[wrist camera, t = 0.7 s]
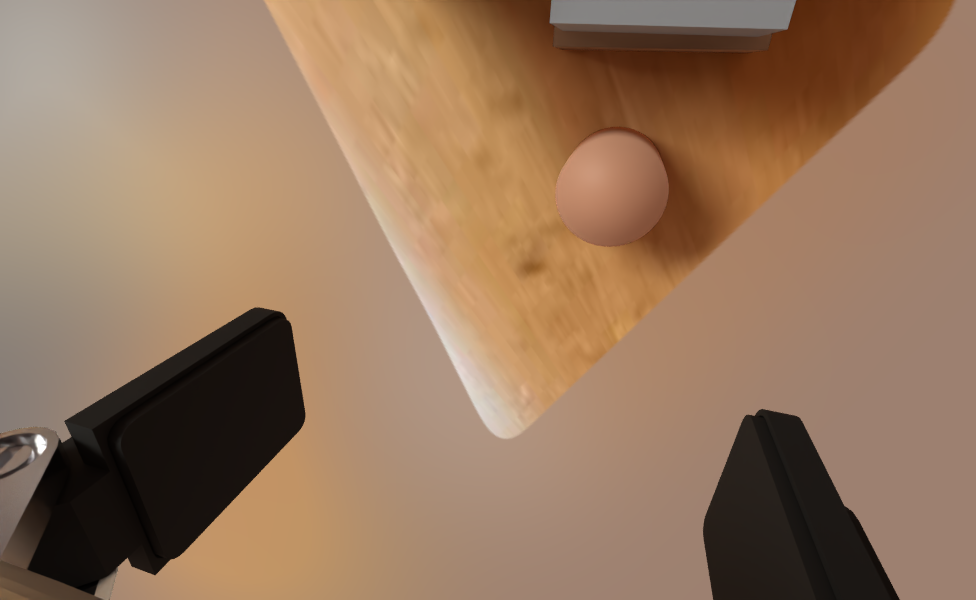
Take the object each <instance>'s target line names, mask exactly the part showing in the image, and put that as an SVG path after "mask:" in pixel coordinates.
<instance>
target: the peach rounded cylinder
mask: <svg viewBox="0 0 976 600" xmlns="http://www.w3.org/2000/svg"><path fill="white" fill-rule="evenodd" d="M668 194H669V183H668V177H667V174H666V170H665V168H664V165H663V162H662V159H661V157H660V154H659V152H658V150H657V148H656V147H655V145H654V144H653V143H652V142H651V140H650V139H648V138H647V137H646V136H645V135H643V134H642V133H640V132H638V131H636V130H633V129H630V128H625V127H610V128H605V129H602V130H599V131H597V132H594V133H593V134H591V135H589V136H588V137H587V138H585V139H584V140H583V141H582V142H581V143H580V144H579V145H578V146H577V148H576V149H575V150H574V152H573V153H572V154H571V156H570V157H569V159H568V160H567V162H566V163H565V165H564V166H563V168H562V170H561V172H560V174H559V177H558V180H557V185H556V196H555V197H556V205H557V209H558V212H559V215H560V217H561V219H562V221H563V222H564V224H565V225H566V226H567V228H568V229H569V230H570V231H571V232H572V233H573V234H574V235H576V236H577V237H579V238H580V239H582V240H584V241H586V242H588V243H591V244H594V245H598V246H607V247H611V246H620V245H625V244H628V243H631V242H633V241H635V240H637V239H639V238H641V237H642V236H644V235H645V234H646V233H648V232H649V231H650V230H651V229H652V228H653V227H654V226H655V225H656V223H657V222H658V221H659V219H660V218H661V216H662V214H663V212H664V210H665V208H666V204H667V201H668Z"/></svg>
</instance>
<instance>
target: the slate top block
mask: <svg viewBox="0 0 976 600" xmlns="http://www.w3.org/2000/svg"><path fill="white" fill-rule="evenodd" d="M795 2H796V0H552V1H551V12H550V24H552V25H554V26H556V27H557V28H559V29H561V30H562V31H582V32H615V33H648V34H681V35H714V36H747V37H760V36H764V35H767V34H771V33H775V32H779V31H783V30H787V29H788V26H789V23H790V19H791V16H792V12H793V9H794V6H795Z"/></svg>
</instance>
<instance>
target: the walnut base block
mask: <svg viewBox="0 0 976 600" xmlns="http://www.w3.org/2000/svg"><path fill="white" fill-rule="evenodd" d="M771 37H772V33H771V34H767V35H764V36H760V37H747V36H714V35H681V34H648V33H615V32H582V31H562V30H561V29H559V28H557V27H556V26H554V38H553V47H556V48H559V49H562V50H607V51H664V52H720V53H751V52H758V51H766V50H768V48H769V44H770V41H771Z"/></svg>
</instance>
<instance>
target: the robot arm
mask: <svg viewBox="0 0 976 600" xmlns="http://www.w3.org/2000/svg"><path fill="white" fill-rule="evenodd" d="M304 421H305V408H304V402H303V395H302V389H301V383H300V377H299V371H298V364H297V358H296V352H295V345H294V340H293V333H292V327H291V323H290V322H289V321H288V320H287V319H286V317H285V315H284V314H283V313H281V312H279V311H274V310H269V309H264V308H253V309H251V310H249V311H247V312H246V313H244V314H242V315H241V316H239V317H237V318H236V319H234V320H232V321H231V322H229V323H227V324H226V325H224V326H222V327H221V328H219V329H217V330H216V331H214V332H212V333H211V334H209V335H207V336H206V337H204V338H202V339H201V340H199V341H197V342H196V343H194V344H192V345H191V346H189V347H187V348H186V349H184V350H182V351H181V352H179V353H177V354H175V355H174V356H172V357H170V358H169V359H167V360H165V361H164V362H162V363H160V364H159V365H157V366H155V367H154V368H152V369H151V370H149V371H147V372H146V373H144V374H142V375H140V376H139V377H137V378H135V379H134V380H132V381H130V382H129V383H127V384H125V385H124V386H122V387H120V388H119V389H117V390H115V391H114V392H112V393H110V394H109V395H107V396H106V397H104V398H102V399H100V400H99V401H97V402H95V403H94V404H92V405H91V406H89V407H87V408H85V409H84V410H82V411H80V412H79V413H77V414H76V415H74V416H72V417H71V418H69V419H67V420H65V424H66V426H67V428H68V430H69V432H70V434H71V436H72V437H71V438H70V439H68V440H66V441H65V442H63V443H62V442H61V440H60V438H59V436H58V435H57V433H56V431H54V430H51V429H49V428H45V427H28V428H19V429H15V430H11V431H7V432H4V433H0V600H110V597H111V593H112V589H113V585H114V582H115V578H116V575H117V571H118V566H119V565H120V564H121V563H122V562H123V561H124V560H125V559H127V558H128V559H129V561H130V564H131V566H132V567H135V568H137V569H140V570H143V571H145V572H148V573H151V574H153V575H156V574H157V573H158V572H159V571H160V570H161V569H162V568H163V567H164V566H165V565H166V564H167V562H168V561H170V559H175V558H177V557H178V556H180V555H181V554H182V553H183V552H184V551H185V550H186V549H187V548H188V547H189V546H190V545H191V544H192V543H193V542H194V541H195V540H196V539H197V538H198V536H200V535H201V533H203V531H204V530H205V529H206V528H207V527H208V526H209V525H210V524H211V523H212V522H213V521H214V520H215V519H216V518H217V517H218V516H219V515H220V514H221V513H222V511H223V510H224V509H225V508H226V507H227V506H228V505H229V504H230V503H231V502H232V501H233V500H234V499H235V498H236V497H237V496H238V495H239V494H240V493H241V491H242V490H243V489H244V488H245V487H246V486H247V485H248V484H249V483H250V482H251V481H252V480H253V479H254V478H255V477H256V476H257V475H258V474H259V472H261V470H262V469H263V468H264V467H265V466H266V465H267V464H268V463H269V462H270V461H271V460H272V459H273V458H274V457H275V456H276V455H277V453H279V452H280V450H281V449H282V448H283V447H284V446H285V445H286V444H287V443H288V442H289V441H290V440H291V439H292V438H293V437H294V436H295V435H296V434H297V433H298V432H299V430H300V429H301V428H302V426H303V424H304ZM703 537H704V544H705V550H706V557H707V563H708V569H709V576H710V582H711V588H712V595H713V600H900V599H899V597H898V596H897V594H896V592H895V590H894V588H893V586H892V584H891V582H890V580H889V578H888V576H887V574H886V573H885V571H884V568H883V567H882V565H881V563H880V561H879V559H878V557H877V555H876V553H875V551H874V549H873V547H872V545H871V543H870V542H869V540H868V538H867V536H866V534H865V532H864V530H863V528H862V526H861V524H860V522H859V520H858V519H857V517H856V516H855V514H854V513H853V512H852V511H851V510H849V509H848V508H847V507H845V506H844V504H843V502H842V500H841V499H840V496H839V494H838V492H837V490H836V488H835V486H834V485H833V482H832V480H831V478H830V476H829V474H828V472H827V471H826V468H825V466H824V464H823V462H822V460H821V458H820V456H819V454H818V452H817V450H816V448H815V446H814V444H813V442H812V440H811V438H810V436H809V434H808V432H807V430H806V429H805V426H804V424H803V423H802V421H801V419H800V418H799V417H797V416H794V415H789V414H784V413H779V412H773V411H769V410H764V409H761V410H759V411H758V412H757V413H756V415H755V416H752V415H746V416H745V417H744V419H743V421H742V423H741V426H740V428H739V431H738V434H737V436H736V439H735V442H734V444H733V446H732V449H731V451H730V454H729V457H728V459H727V462H726V465H725V467H724V470H723V472H722V475H721V477H720V480H719V482H718V485H717V488H716V490H715V493H714V495H713V498H712V501H711V503H710V506H709V508H708V511H707V513H706V516H705V519H704V527H703Z"/></svg>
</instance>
